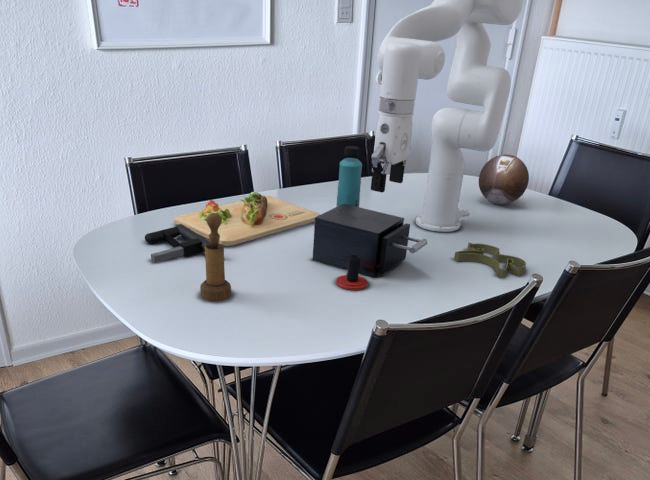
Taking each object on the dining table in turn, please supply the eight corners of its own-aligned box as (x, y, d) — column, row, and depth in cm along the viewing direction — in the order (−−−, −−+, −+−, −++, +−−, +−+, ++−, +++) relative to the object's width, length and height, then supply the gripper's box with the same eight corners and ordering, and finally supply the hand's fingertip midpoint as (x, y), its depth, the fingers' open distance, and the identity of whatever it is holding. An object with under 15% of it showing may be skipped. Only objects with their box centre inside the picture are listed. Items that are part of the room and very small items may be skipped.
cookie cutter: (446, 257, 165) (448, 249, 164) (474, 247, 172) (475, 240, 171) (508, 281, 154) (510, 273, 153) (535, 269, 161) (536, 261, 160)
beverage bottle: (356, 222, 184) (363, 150, 174) (333, 220, 185) (338, 148, 175) (359, 215, 189) (366, 145, 179) (337, 213, 190) (342, 143, 180)
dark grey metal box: (398, 259, 162) (404, 217, 156) (373, 277, 152) (378, 233, 146) (340, 244, 169) (343, 203, 164) (312, 260, 159) (314, 217, 153)
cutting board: (226, 249, 162) (225, 220, 158) (171, 223, 176) (169, 196, 172) (322, 220, 184) (324, 194, 180) (267, 200, 198) (267, 175, 194)
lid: (357, 275, 152) (359, 249, 149) (373, 287, 147) (376, 260, 144) (330, 279, 149) (332, 253, 146) (346, 292, 144) (348, 265, 141)
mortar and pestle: (201, 288, 142) (198, 208, 133) (231, 288, 143) (230, 208, 133) (199, 301, 136) (196, 218, 127) (230, 302, 137) (230, 219, 128)
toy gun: (164, 261, 147) (225, 244, 155) (128, 234, 161) (185, 220, 169) (166, 275, 149) (226, 257, 157) (129, 247, 163) (187, 232, 171)
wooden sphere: (474, 207, 202) (483, 158, 194) (474, 193, 214) (483, 147, 206) (524, 213, 199) (535, 163, 191) (521, 199, 212) (531, 152, 204)
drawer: (428, 265, 157) (433, 229, 153) (406, 282, 148) (411, 245, 143) (350, 244, 167) (353, 210, 162) (325, 258, 157) (327, 223, 153)
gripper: (395, 114, 130) (385, 198, 139) (428, 104, 143) (416, 181, 152) (362, 109, 134) (354, 191, 142) (397, 99, 147) (387, 175, 155)
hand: (386, 186), depth 147 cm, fingers open, 9 cm apart
